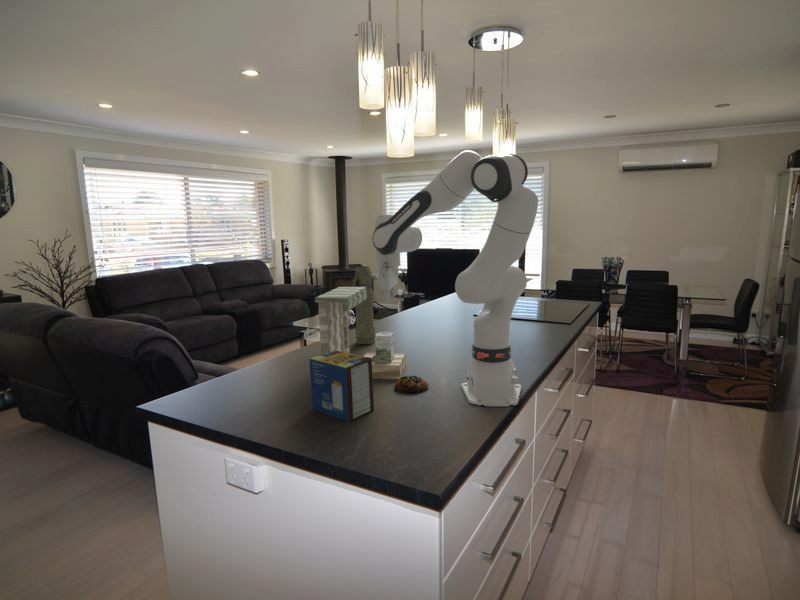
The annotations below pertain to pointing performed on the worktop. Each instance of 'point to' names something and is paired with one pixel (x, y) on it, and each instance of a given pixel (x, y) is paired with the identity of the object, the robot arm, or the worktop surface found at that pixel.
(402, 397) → the worktop surface
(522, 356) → the worktop surface
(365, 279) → the olive green tall block
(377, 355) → the syrup box
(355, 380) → the protein box
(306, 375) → the worktop surface
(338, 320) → the socket stand
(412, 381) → the bread roll
